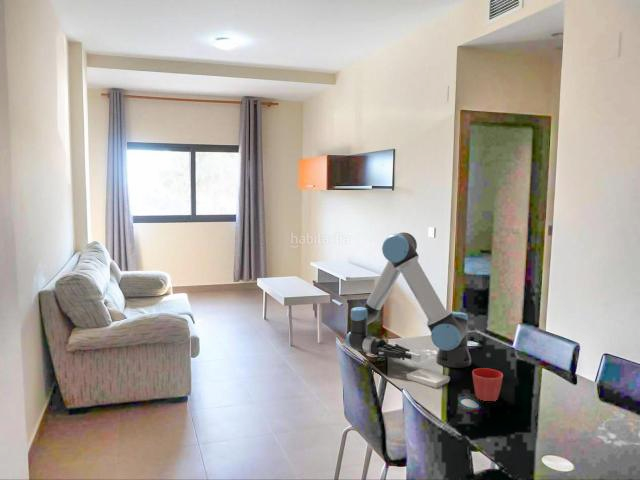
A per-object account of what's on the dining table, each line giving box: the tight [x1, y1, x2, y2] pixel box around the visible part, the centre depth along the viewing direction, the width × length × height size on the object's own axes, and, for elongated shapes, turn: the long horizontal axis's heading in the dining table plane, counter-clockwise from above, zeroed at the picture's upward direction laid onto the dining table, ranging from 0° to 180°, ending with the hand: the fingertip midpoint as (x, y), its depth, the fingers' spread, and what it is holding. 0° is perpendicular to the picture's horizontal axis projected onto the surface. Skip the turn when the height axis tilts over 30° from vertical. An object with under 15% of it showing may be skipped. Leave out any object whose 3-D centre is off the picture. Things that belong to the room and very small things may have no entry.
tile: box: [406, 368, 451, 389], centre depth 207 cm, size 10×2×14 cm
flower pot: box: [471, 367, 504, 402], centre depth 188 cm, size 11×11×10 cm
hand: (419, 358), depth 210 cm, fingers closed
